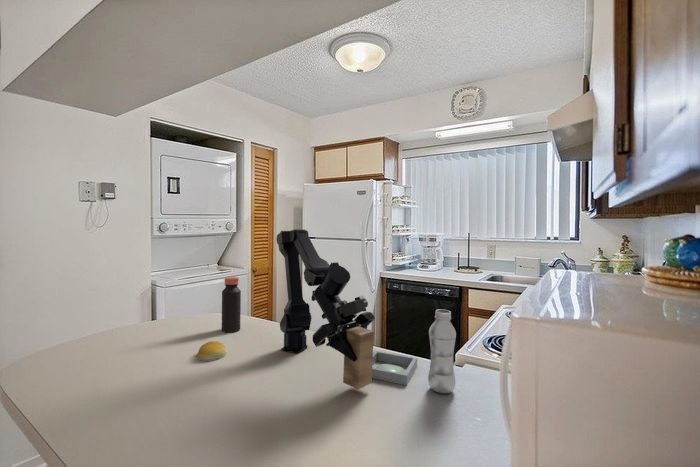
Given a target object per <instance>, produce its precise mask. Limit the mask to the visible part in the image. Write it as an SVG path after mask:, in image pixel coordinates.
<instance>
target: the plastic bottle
mask: <svg viewBox="0 0 700 467" xmlns="http://www.w3.org/2000/svg"><path fill="white" fill-rule="evenodd" d="M434 319H435V320H434V322H433V323H432V324H431V326H429V330H428V336H429V344H430V362H429V364H430V365H429V371H428V374H427V375H428V376H427V381H428V386H429V387H430V389H431V390H432V391H434V392H436V393H439V394H449V393H452V392H453V391H454V390H455V388H456V376H455V375H456V374H455V369H454V354H455V353H454V351H455V344H456V337H457V332H456V329H455V327H454V326H453V323H452V322H451V320H452V311H450V310H448V309H436V310H435V315H434Z"/></svg>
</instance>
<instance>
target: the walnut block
mask: <svg viewBox="0 0 700 467" xmlns="http://www.w3.org/2000/svg"><path fill="white" fill-rule="evenodd" d="M346 331H347V340H348V342H349V343H350V345H351V347H352V349H353V351H354V353H355V355H356V357H357V360H356V361H355V362H354V361H352V360H351V359H349V358H348V357H346V356H345V355H343V356H344V357H343V374H342V376H343V377H342V383H343V384H345V385H348V386H349V387H352V388H354V389H357V390H360V389H363V388H365V387H366V386H369V385H370V384H372V382H373V380H372V379H373V378H372V367H373V366H372V360H373V352H374V336H375V334H374V332H375V331H374V330H371V329H368V328H367V329H365V328H362V327H359V326H358V327H355V328H351V329H348V330H346Z"/></svg>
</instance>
